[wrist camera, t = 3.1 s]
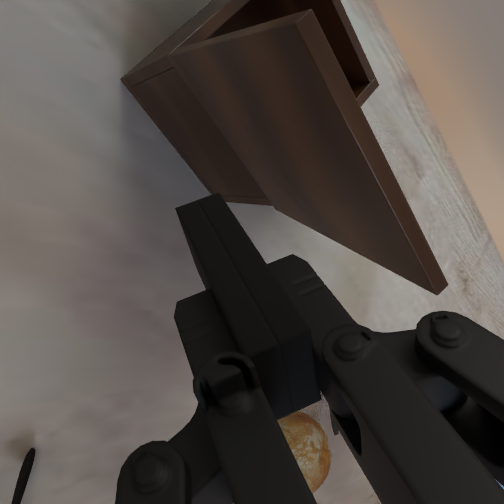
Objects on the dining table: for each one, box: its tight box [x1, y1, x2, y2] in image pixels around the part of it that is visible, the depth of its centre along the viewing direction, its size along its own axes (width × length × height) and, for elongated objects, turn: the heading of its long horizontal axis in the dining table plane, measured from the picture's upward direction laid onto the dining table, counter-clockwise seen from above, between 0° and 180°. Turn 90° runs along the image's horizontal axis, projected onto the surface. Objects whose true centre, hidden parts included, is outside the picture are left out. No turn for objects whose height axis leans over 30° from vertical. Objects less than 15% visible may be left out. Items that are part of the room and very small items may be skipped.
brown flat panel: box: [167, 9, 448, 295], centre depth 25 cm, size 17×14×1 cm
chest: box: [121, 0, 379, 206], centre depth 39 cm, size 16×14×9 cm
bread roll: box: [277, 411, 331, 493], centre depth 52 cm, size 10×10×8 cm
